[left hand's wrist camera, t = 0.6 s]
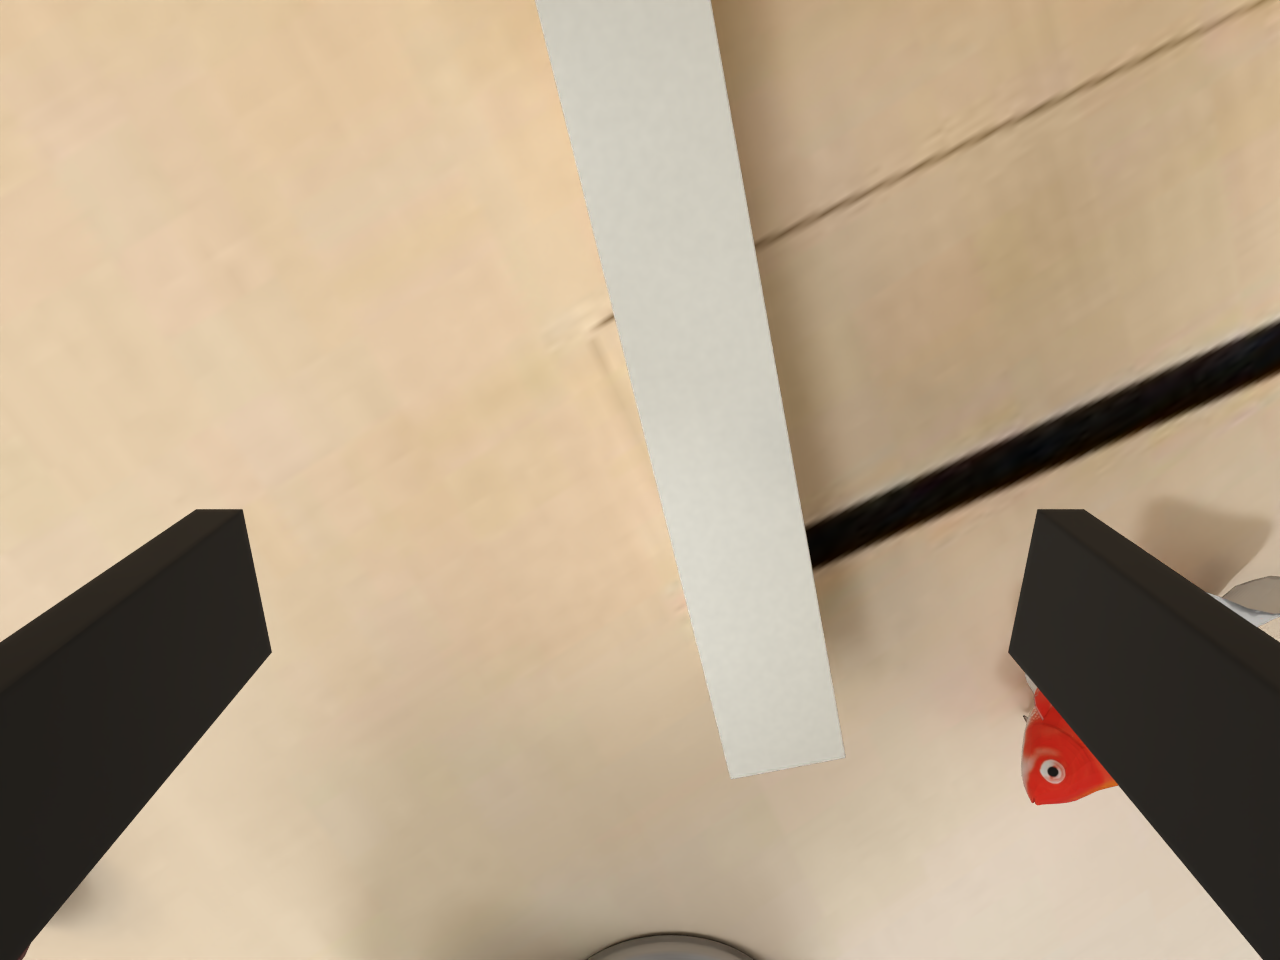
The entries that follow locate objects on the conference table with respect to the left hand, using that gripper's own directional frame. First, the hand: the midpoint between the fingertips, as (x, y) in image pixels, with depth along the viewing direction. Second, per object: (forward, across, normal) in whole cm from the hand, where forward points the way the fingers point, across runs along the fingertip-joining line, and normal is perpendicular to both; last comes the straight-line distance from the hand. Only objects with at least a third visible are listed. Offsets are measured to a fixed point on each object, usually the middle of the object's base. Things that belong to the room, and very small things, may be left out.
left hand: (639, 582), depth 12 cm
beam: (+22, +2, -18) cm, 29 cm away
